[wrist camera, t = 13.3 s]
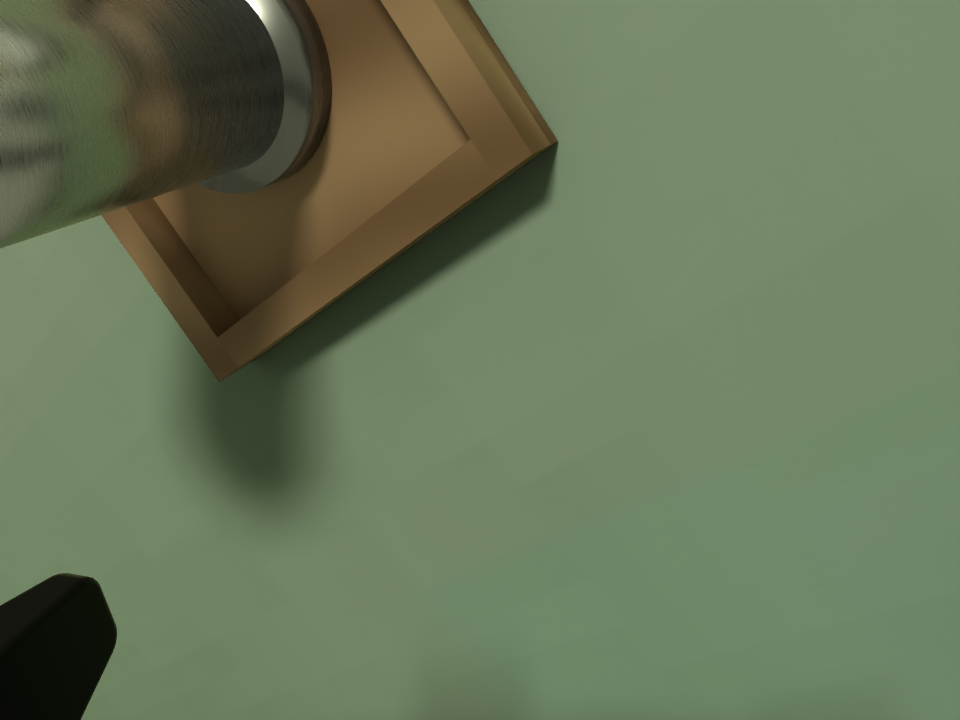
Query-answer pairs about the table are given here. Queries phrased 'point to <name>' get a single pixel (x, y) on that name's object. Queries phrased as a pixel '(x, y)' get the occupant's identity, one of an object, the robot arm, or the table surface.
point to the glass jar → (151, 102)
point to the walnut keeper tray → (342, 179)
